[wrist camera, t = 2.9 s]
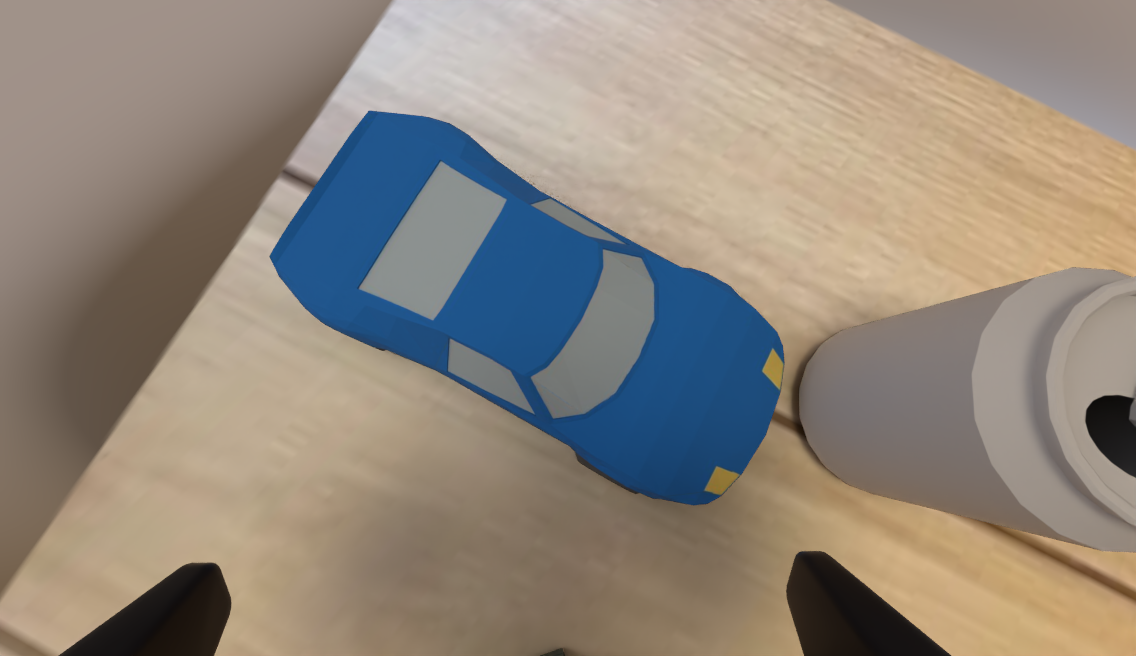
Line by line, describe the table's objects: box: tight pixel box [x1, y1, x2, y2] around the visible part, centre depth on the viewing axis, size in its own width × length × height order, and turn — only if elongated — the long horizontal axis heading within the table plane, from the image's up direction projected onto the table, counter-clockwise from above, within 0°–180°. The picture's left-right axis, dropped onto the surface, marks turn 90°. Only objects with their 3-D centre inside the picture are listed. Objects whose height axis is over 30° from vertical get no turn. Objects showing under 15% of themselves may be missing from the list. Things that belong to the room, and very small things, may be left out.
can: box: [799, 267, 1136, 552], centre depth 18 cm, size 8×8×12 cm
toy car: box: [269, 111, 784, 505], centre depth 21 cm, size 9×20×5 cm, turn 61°
